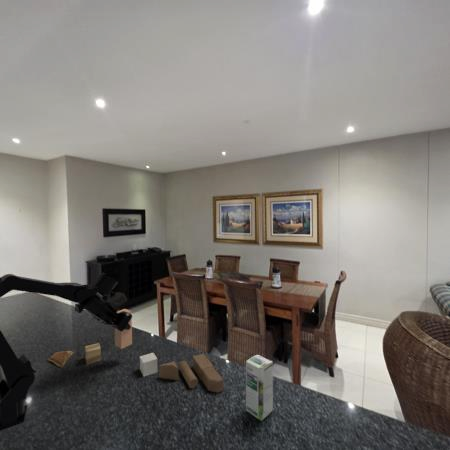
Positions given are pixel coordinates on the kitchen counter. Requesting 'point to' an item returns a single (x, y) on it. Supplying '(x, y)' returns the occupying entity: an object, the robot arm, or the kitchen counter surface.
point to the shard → (60, 358)
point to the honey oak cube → (93, 353)
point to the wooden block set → (200, 367)
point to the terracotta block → (123, 334)
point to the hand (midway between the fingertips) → (126, 326)
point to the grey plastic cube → (148, 364)
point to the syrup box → (259, 386)
